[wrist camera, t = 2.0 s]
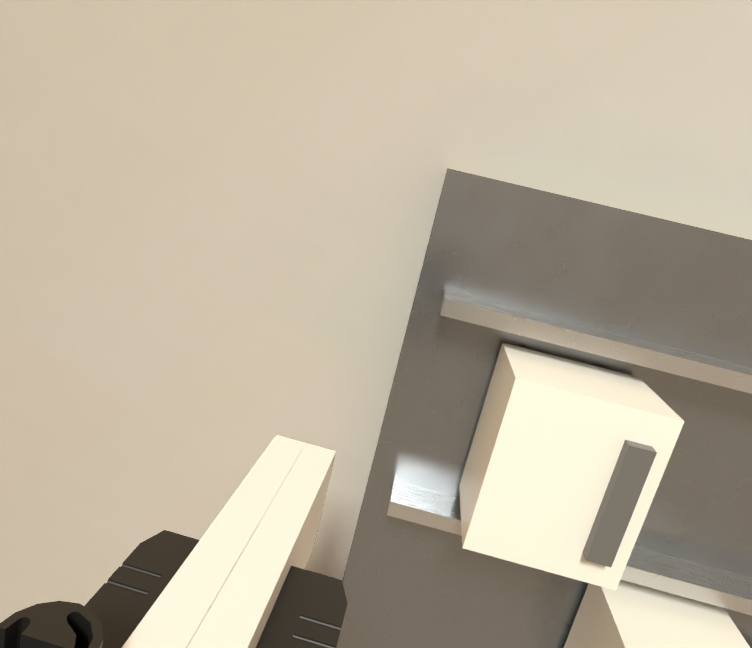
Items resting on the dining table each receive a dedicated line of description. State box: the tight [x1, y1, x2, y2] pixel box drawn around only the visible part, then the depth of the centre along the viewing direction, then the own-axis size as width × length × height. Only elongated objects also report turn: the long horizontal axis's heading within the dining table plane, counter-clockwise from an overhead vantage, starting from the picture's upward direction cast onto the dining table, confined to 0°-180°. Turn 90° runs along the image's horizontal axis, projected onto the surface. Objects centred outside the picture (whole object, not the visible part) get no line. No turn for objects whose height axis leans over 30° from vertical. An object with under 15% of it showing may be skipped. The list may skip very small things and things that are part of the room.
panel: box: [336, 168, 752, 648], centre depth 22 cm, size 18×21×4 cm
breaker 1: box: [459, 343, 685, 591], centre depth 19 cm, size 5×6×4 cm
